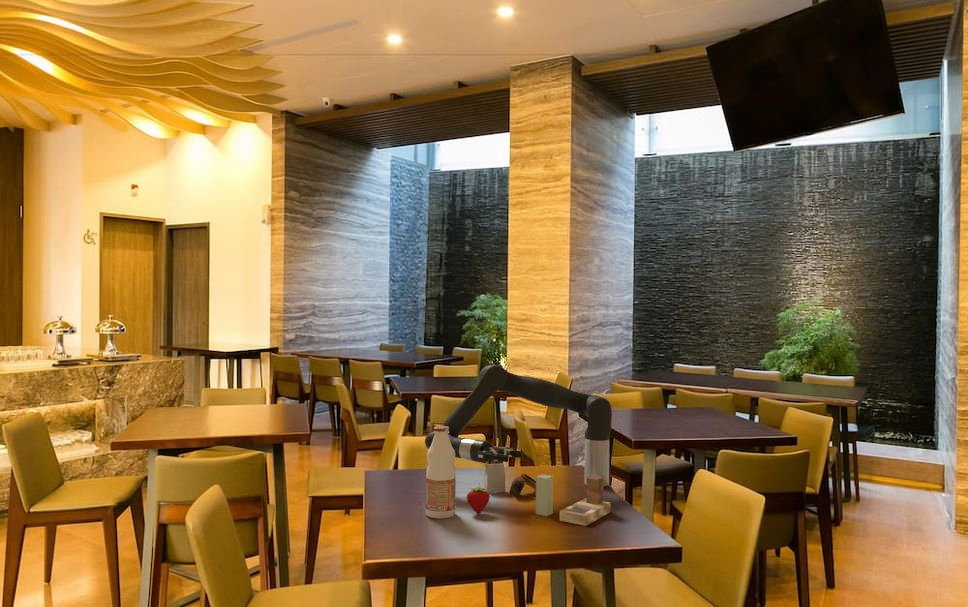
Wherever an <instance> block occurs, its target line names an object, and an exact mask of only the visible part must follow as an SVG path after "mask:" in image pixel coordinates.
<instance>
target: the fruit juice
mask: <svg viewBox="0 0 968 607" xmlns="http://www.w3.org/2000/svg"><path fill="white" fill-rule="evenodd" d="M433 432H434V433H435V435H434V438H433V441H432V444H431V446H430V448H429V449H428V448H427V449H428V450H427V452H426V459H427V463H428V465H427V467H426V472H425V473H426V474H425V478H426V479H425V487H426V488H425V514H426V516H427V517H428V518H430V519H431V518H432V519H439V520H441V519H450V518H453V517H454V516H455V515H456V493H457V492H456V489H457V488H456V487H457V486H456V485H457V484H456V482H457V478H456V476H457V471H456V467H455V460H456V457H455V450H454V449H453V447H452V445H451V442H450V439H449V436H448V433H449V427H447V426H444V425H438V426H436V425H435V426H434V427H433Z"/></svg>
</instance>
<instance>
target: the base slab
mask: <svg viewBox="0 0 968 607" xmlns="http://www.w3.org/2000/svg"><path fill="white" fill-rule="evenodd" d="M585 486H586V494H585V495H586V497H585V498H583V499H582V500H579V501H577V502H575V503H573V504H571V505H568V506H567V507H565V508H562V509H561V510H559V521H560V522H565V523H566V522H567V523H571V524H576V525H580V526H584V527H586V526H588V525H590V524H591V523H593V522H596V521H597V520H599V519H600V518H602V517H604V516H607V515H608V514H609V513H611V507H612V506H611V505H612V504H611V502H608V501H604V487H603V477H597V476H590V477H588V478H587V483H586V484H585Z"/></svg>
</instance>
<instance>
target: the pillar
mask: <svg viewBox="0 0 968 607" xmlns="http://www.w3.org/2000/svg"><path fill="white" fill-rule="evenodd" d="M535 479H536V480H535V481H536V496H535V515H538V516H543V517H548V516H550V515H553V512H554V476H553V475H549V474H544V473H543V474H540V475H537V476H536V477H535Z"/></svg>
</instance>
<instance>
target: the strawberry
mask: <svg viewBox="0 0 968 607" xmlns="http://www.w3.org/2000/svg"><path fill="white" fill-rule="evenodd" d="M478 484H479V486H477V487H476V488H471V490H470V491H469V492H468V493H467V495H466V500H467V504H468V505H469V507H470V508H471V509H472V510H473V512H475V514H477V515H480V514H482V512H483V511H484V510H485V508H486V506H487V505H488V504H489V501H490V494H489V493H488V492H487V491H484V490H486V489H484V488H482V487H481V485H480V482H479V481H478Z"/></svg>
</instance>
